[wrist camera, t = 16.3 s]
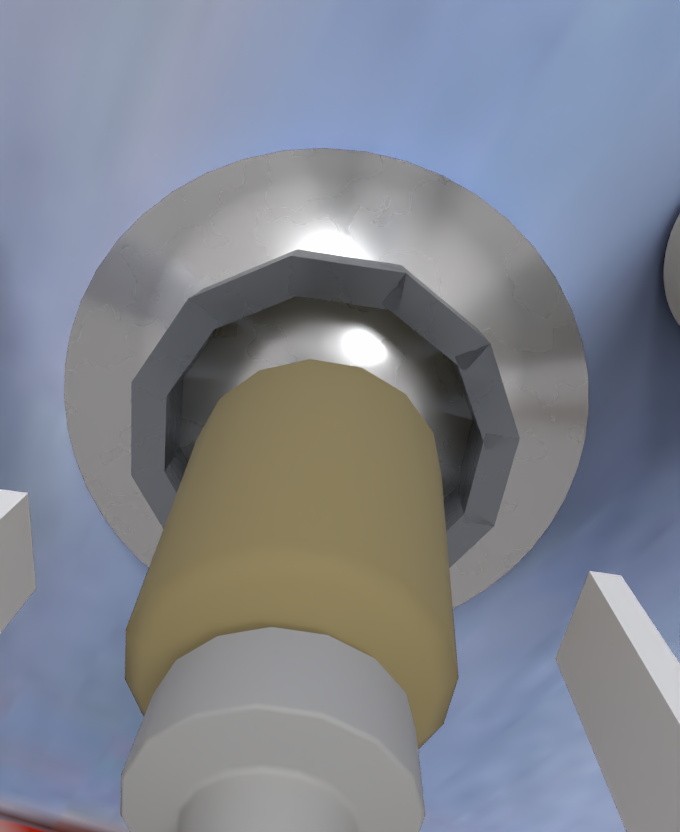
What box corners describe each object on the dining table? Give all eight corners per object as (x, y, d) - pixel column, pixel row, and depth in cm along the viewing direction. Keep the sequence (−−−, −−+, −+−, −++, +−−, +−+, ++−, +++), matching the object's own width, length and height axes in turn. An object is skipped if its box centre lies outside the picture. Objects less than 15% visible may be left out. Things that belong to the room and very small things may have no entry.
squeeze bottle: (230, 524, 23) (-79, 1356, 7) (206, 333, 20) (-466, 993, 4) (426, 520, 23) (605, 1384, 6) (430, 326, 20) (792, 1014, 3)
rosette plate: (73, 108, 19) (15, 92, 16) (647, 198, 20) (704, 200, 16) (88, 582, 27) (51, 637, 23) (503, 638, 27) (523, 699, 24)
